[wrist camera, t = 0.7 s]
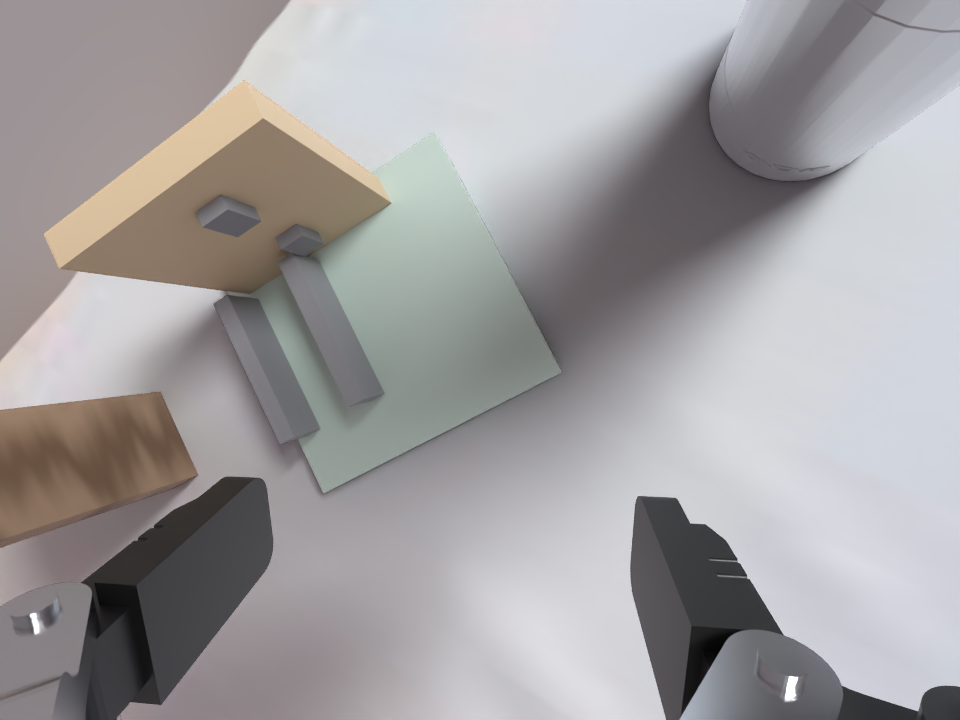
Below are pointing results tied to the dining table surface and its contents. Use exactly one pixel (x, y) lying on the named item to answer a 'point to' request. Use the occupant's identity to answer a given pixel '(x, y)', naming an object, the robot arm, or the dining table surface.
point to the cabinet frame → (323, 278)
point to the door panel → (84, 460)
